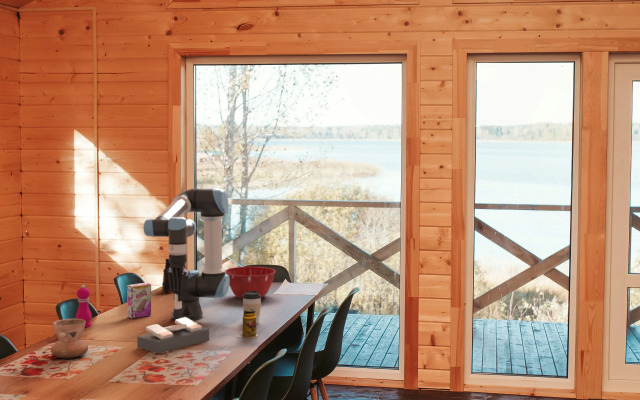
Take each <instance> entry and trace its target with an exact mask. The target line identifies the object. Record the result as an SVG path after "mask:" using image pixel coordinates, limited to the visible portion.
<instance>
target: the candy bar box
mask: <svg viewBox="0 0 640 400" xmlns="http://www.w3.org/2000/svg"><path fill="white" fill-rule="evenodd" d="M126 293H127V294H126V300H127V302H126V306H127V307H126V311H127V313H126V316H127V318H128V317H129V318H128V319H130V318H131V320H134V319H138V318H139V317H140V318H145V316H146V317H150V315H151V316H152V284H151V283H148V282H142V283H134V284H128V285H126ZM133 318H134V319H133ZM140 318H139V319H140Z"/></svg>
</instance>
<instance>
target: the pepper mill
mask: <svg viewBox="0 0 640 400" xmlns="http://www.w3.org/2000/svg"><path fill="white" fill-rule="evenodd" d="M80 287H81V288H78V289H77V291H76V296H77V298H78V299H77V302H78V308H77V312H76V314H75V319H82V320H84V321H85V327H87V328H90V327H91V326H92V322H91V320H92V318H93V316H92V312H91V309H90V307H89V302H90V296H91V291H90V289H89V288H86V285H85V284H82V285H81V286H80ZM89 326H90V327H89ZM85 327H84V329H86V328H85Z"/></svg>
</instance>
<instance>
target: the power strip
mask: <svg viewBox="0 0 640 400" xmlns="http://www.w3.org/2000/svg"><path fill="white" fill-rule="evenodd" d="M171 333H173V337H170V338H166V339H162V340H161V339H160V338H158V337H157V336H152V333H150V332H149V333H146V334H142V335H138V336H137V337H136V339H137V340H136V346H137V347H138V348H137V347H136V348H137V349H139V348H141V349H140V350H142V349H145V350H144V351H146V350H147V351H146V352H149V351H151V352H150V353H153V352H155V353H154V354H156V353H158V355H160V354H159V353H161V354H163V353H162V352H164V353H167V352H166V351H168V352H171V350H172V351H174V350H175V351H176V350H179V349H182V347H183V348H185V347H190V346H194V345H197V344H200V343H204V342H208V341H210V328H207V327H203V326H202V329H201V330H197V331H193V332H190V331H188V330H187V329H180V330H178V331H174V332H171Z"/></svg>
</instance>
